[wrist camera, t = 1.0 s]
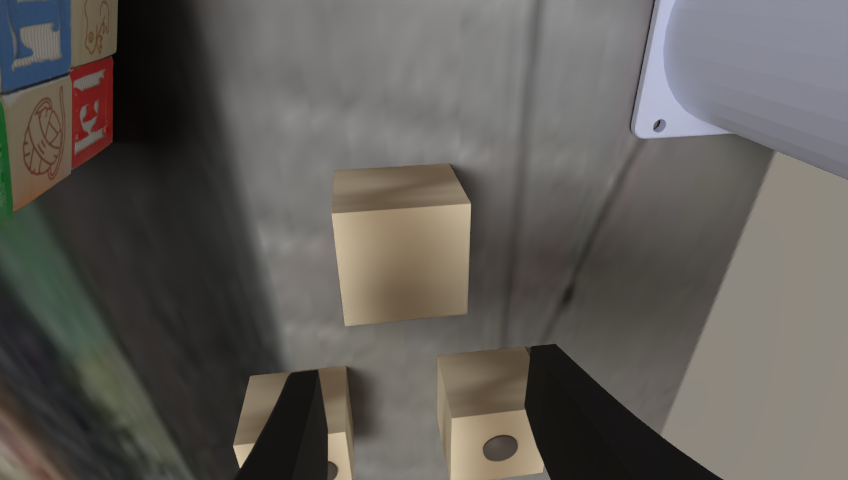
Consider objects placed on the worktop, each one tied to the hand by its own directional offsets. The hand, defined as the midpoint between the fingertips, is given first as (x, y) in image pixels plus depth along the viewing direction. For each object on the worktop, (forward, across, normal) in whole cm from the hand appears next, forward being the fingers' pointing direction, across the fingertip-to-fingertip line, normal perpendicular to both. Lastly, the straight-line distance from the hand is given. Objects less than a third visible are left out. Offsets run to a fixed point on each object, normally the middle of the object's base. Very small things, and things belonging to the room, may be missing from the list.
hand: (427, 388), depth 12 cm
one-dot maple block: (+10, -4, +10) cm, 14 cm away
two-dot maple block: (+10, +5, +10) cm, 15 cm away
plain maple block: (+10, 0, 0) cm, 10 cm away
